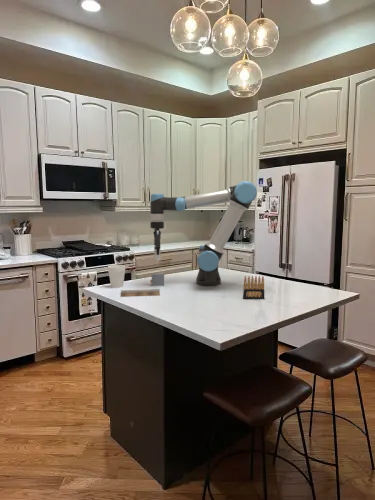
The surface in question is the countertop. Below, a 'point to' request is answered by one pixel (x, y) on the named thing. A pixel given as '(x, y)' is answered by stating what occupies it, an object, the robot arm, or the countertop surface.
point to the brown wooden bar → (140, 291)
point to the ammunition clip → (253, 288)
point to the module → (157, 279)
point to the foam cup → (116, 275)
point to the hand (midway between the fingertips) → (157, 258)
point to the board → (140, 294)
